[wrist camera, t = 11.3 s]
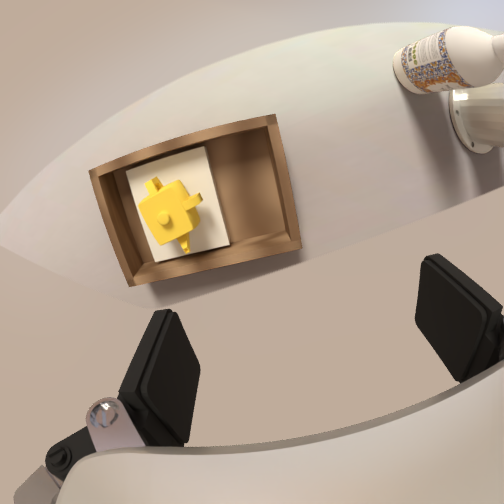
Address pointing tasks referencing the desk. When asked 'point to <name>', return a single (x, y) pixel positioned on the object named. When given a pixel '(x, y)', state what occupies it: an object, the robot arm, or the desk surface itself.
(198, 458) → the robot arm
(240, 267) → the desk surface
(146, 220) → the teapot
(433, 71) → the bath foam
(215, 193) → the plate
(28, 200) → the desk surface
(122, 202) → the box
